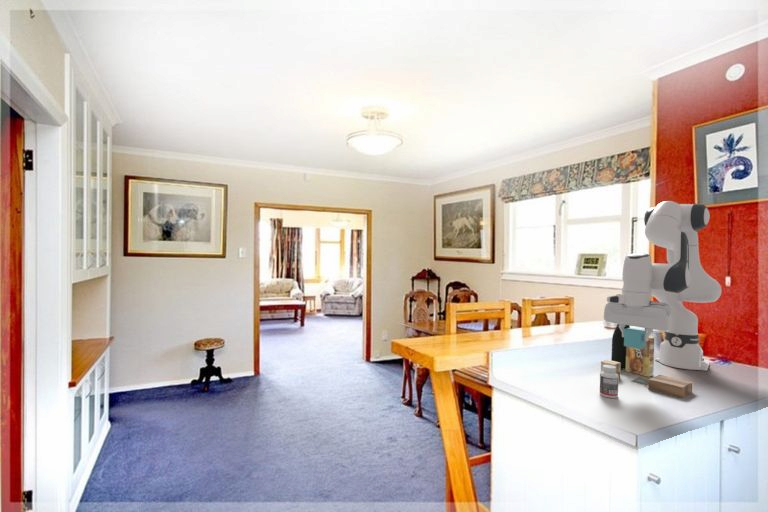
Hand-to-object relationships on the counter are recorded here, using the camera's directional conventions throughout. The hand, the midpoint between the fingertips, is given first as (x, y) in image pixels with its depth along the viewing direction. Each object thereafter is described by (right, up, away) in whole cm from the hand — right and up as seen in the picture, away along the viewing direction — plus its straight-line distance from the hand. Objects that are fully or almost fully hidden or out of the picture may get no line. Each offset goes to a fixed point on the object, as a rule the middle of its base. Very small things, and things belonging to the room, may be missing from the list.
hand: (634, 339), depth 141 cm
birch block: (-1, -18, +14) cm, 22 cm away
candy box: (+14, -18, +20) cm, 31 cm away
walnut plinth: (+12, -19, 0) cm, 22 cm away
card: (+9, -18, +10) cm, 23 cm away
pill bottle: (-13, -18, -7) cm, 23 cm away
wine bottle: (+13, -18, +29) cm, 36 cm away
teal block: (0, -3, 0) cm, 3 cm away
